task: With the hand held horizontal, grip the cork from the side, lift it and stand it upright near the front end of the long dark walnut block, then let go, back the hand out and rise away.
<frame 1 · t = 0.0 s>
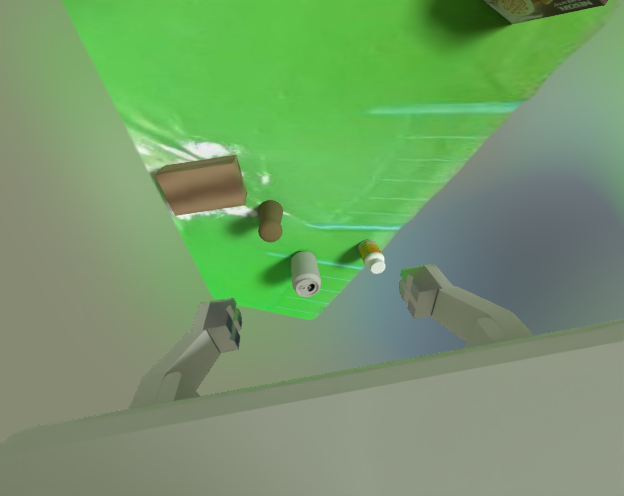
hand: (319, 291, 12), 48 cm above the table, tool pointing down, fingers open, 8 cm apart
cork: (270, 211, 62), on the table
can: (303, 259, 72), on the table
walnut block: (208, 180, 55), on the table
supplement bottle: (366, 246, 72), on the table
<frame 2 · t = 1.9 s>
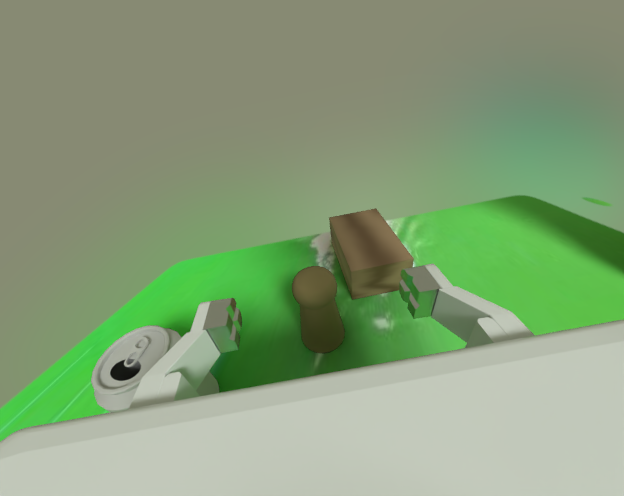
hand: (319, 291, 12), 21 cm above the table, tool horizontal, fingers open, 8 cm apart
cork: (323, 333, 34), on the table
can: (191, 407, 29), on the table
walnut block: (365, 262, 44), on the table
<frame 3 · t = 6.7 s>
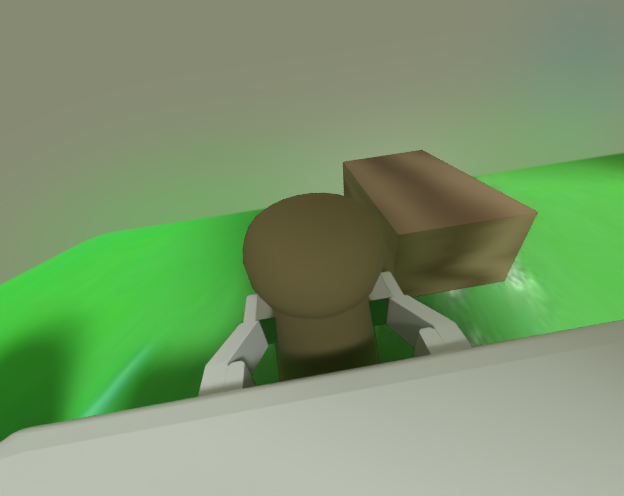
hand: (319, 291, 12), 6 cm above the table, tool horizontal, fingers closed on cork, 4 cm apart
cork: (330, 373, 15), on the table, touching gripper
walnut block: (405, 237, 25), on the table
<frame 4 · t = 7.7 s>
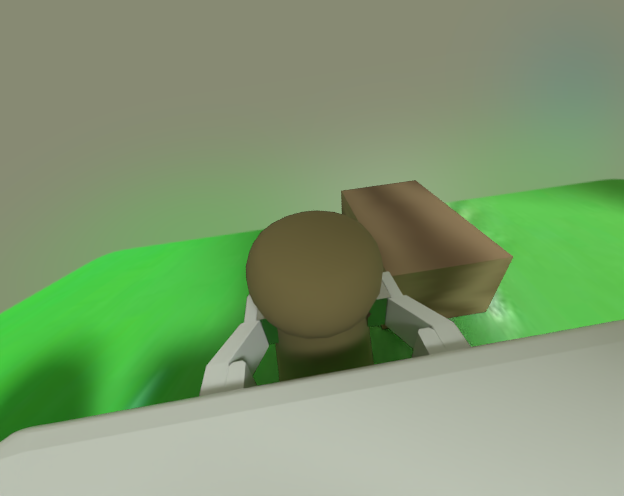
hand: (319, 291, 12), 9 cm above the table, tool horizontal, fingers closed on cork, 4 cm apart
cork: (326, 371, 16), point 2 cm above the table, touching gripper
walnut block: (398, 264, 27), on the table
when the fingers open (13 cm above the table, at t = 11.9 s): cork moves 2 cm, resting on walnut block.
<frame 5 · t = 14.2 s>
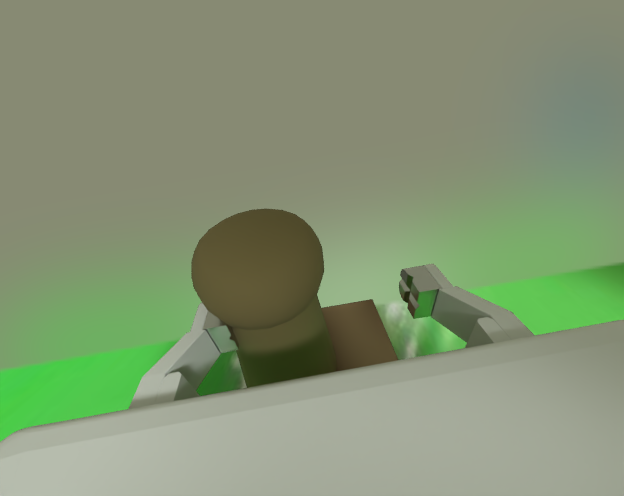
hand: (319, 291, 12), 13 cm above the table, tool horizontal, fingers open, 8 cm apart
cork: (291, 364, 16), point 6 cm above the table, touching gripper, walnut block
walnut block: (341, 446, 17), on the table
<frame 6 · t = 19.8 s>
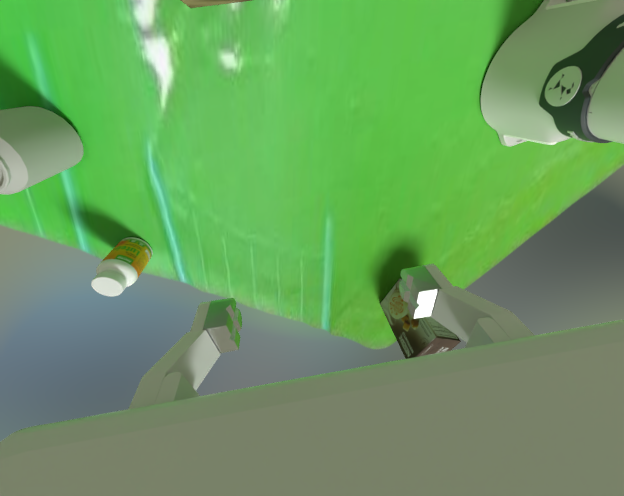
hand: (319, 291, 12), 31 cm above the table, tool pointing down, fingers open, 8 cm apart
can: (54, 136, 33), on the table
coffee box: (399, 292, 60), on the table
supplement bottle: (137, 248, 44), on the table
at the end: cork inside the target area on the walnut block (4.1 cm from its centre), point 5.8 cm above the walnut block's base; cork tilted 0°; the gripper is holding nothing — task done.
